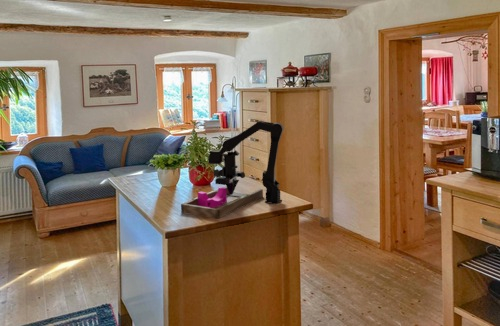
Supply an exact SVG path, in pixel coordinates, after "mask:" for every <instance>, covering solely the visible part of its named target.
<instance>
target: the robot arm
mask: <svg viewBox="0 0 500 326" xmlns="http://www.w3.org/2000/svg"><path fill="white" fill-rule="evenodd" d="M284 128H285V127H284V125H283V123H281V122H280V121H279V122H269V121H264V120H258V121H256V122H255V124H253V125H251V126H250V127H248V128H246V129H245V130H244V131H242V132H240V133H238V134H237V135H234V136H232V137H229V138H227V139H225V140H224V141H223V142H222V147H221V149H219V150H210V151H209V155H208V164H209V165H222V163H223V165H224V166H221V169H217V168H216V169H213V172H212V173H213V176H214V177H216V178H215V180H214V181H215V184H216V185H221V186H222V185H224V186H225V187H226V186H227V188H228V191H229V193H230V195H232V194H233V192H235V189H236V187H237V185H238V183H239V181H240V180H239V179H238V178H241V179H245V178H246V174H245V172H244V171H237V168H238V165H236V161H237V160H236V157H237V156H239V155H240V153H239V152H238V151H237V150H236V149H235V148H236V147H238V145H239V144H241V142H243V141H244V140H246V139H248V138H249V137H251V136H252V135H254V134H255V133H257V132H258V131H260V130H261V131H265V132H267V133H270V147H269V154H268V160H267V168H266V170H263V172H262V179H261V180H260V181H261V182H262V185H263V187H264V188H266V191H265V200H264V202H265V203H267V204H273V205H275V204H276V205H277V204H279V203H281V202H282V201H283V200H282V199H281V189H279V188H280V183H279V181H277V180H276V179H277V177H276V163H277V157H278V152H279V151H278V150H279V144H280V140H281V138H282V134H283V132H284ZM234 149H235V150H234ZM233 150H234V151H233ZM226 152H227V153H226Z"/></svg>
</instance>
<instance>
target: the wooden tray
mask: <svg viewBox="0 0 500 326" xmlns="http://www.w3.org/2000/svg"><path fill="white" fill-rule="evenodd" d="M223 187H224V188H226V193H227V196H228V197H235V198H236V199H233V200H231V201H229V202H225V205H224V204H223V205H221V206H218V208H217V207H213V208H209V207H203V206H198V196H196V197H194V198H192V199H191V200H188V201H185V202H183V203H181V204H180V209H181V210H180V211H181V213H182V214H189V215H195V216H199V217H200V216H201V217H207V218H211V219H218V220H219V219H220V218H222V217H224V216H226V215H229V214H230V213H232V212H235V211H237V210H239V209H241V208H242V207H245V206H246V205H247V206H248V205H249V204H251V203H253V202H255V201H257V200H259V199H261V198H263V197H264V192H263V191H264V190H263V188H259V189H257V190H255V191H253V192H251V193H242V192H235V191H234V192H233V194H232V195H230V193H229V191H228V188H227V186H226V185H225V186H223ZM217 192H218V189H217V190H212V191H209V192H206V193H207V196H208V197H209V198H213V197H214V196H215V195H216V194H217Z"/></svg>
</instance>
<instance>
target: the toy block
mask: <svg viewBox="0 0 500 326" xmlns="http://www.w3.org/2000/svg"><path fill="white" fill-rule="evenodd" d="M224 187H225V186H219V187H218V189H217V190H218V192H217V194H216V195H215V196H214V197H213V198H209V197H208V196H207V193H208V192H206V191H198V192H197V197H198V206H203V207H209V208H217V207H222V206H224V204H226V203H228V198H227V193H226V188H224Z"/></svg>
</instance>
